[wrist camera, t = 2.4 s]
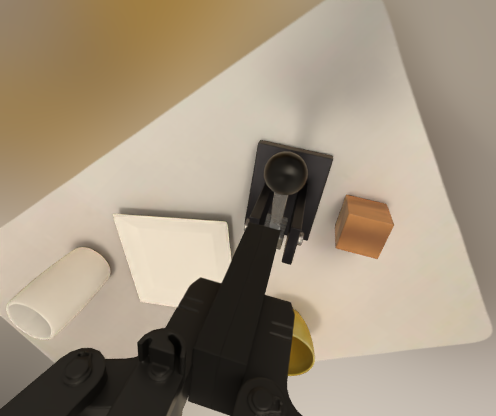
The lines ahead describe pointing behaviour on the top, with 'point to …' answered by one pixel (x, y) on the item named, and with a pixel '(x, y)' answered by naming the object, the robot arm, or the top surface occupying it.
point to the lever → (283, 186)
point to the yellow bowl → (301, 348)
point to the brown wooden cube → (363, 226)
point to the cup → (58, 293)
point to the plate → (172, 254)
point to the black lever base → (298, 204)
